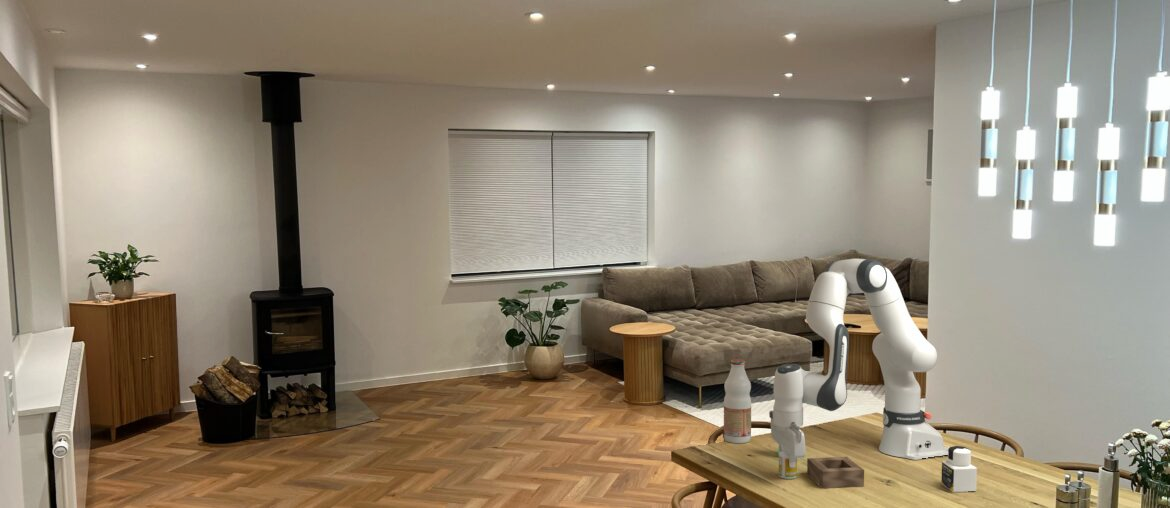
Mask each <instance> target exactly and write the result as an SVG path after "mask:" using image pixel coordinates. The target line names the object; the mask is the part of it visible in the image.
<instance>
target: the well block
mask: <svg viewBox="0 0 1170 508" xmlns="http://www.w3.org/2000/svg"><path fill="white" fill-rule="evenodd" d="M806 459H807V461H806V474H807V476H808V477H810V479H811V480H813V482H815V483H816V484H817V485H818V486H819V487H820V488H821V489H824V490H825V489H841V488H862V487H865V469H864V468H863V467H861V466H859V465H858V464H857V463H855V461H853V460H851V458H849V457H848V456H831V457H811V458H806Z"/></svg>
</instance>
